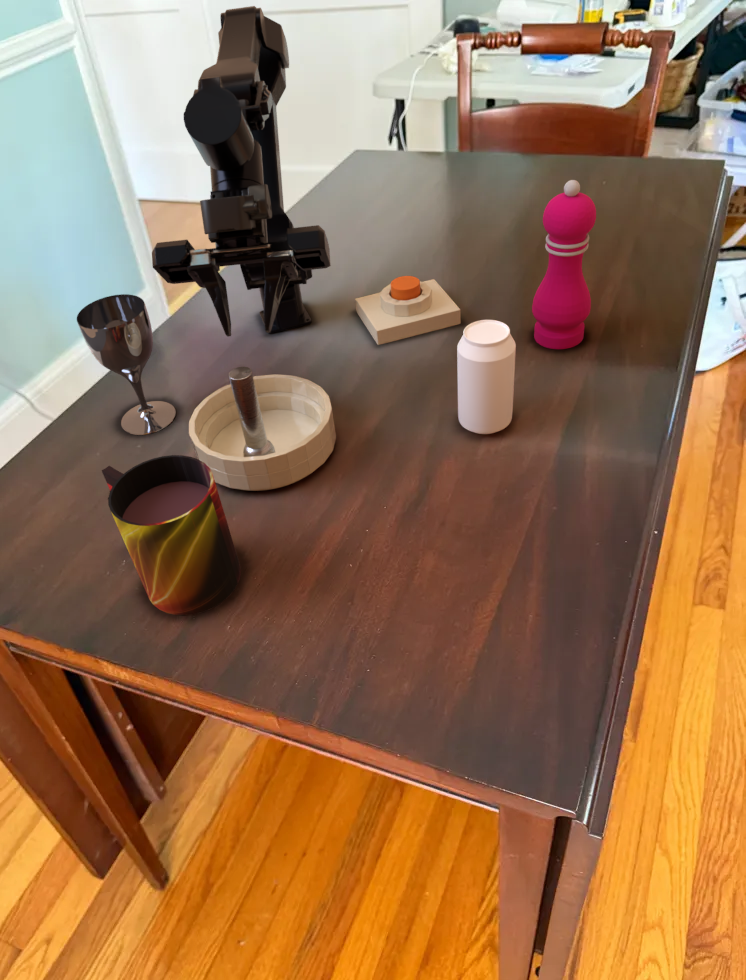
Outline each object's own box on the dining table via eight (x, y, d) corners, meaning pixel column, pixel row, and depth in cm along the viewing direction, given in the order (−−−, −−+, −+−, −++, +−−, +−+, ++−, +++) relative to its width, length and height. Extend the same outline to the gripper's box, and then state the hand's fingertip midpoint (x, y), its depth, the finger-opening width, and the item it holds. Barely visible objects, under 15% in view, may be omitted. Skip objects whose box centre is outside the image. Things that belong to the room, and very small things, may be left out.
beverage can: (507, 441, 88) (511, 348, 80) (453, 436, 90) (451, 345, 82) (515, 409, 92) (520, 317, 84) (463, 405, 94) (462, 315, 86)
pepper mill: (587, 352, 99) (607, 192, 85) (529, 351, 101) (538, 194, 87) (586, 322, 104) (605, 166, 90) (531, 322, 106) (540, 169, 92)
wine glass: (189, 402, 102) (157, 296, 91) (160, 440, 96) (122, 331, 86) (137, 396, 104) (99, 292, 93) (106, 433, 99) (62, 326, 88)
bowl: (189, 429, 97) (179, 395, 94) (317, 395, 99) (311, 361, 96) (210, 511, 86) (199, 476, 82) (354, 471, 88) (349, 436, 84)
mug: (134, 535, 84) (97, 448, 76) (253, 549, 81) (229, 458, 72) (93, 603, 78) (47, 515, 70) (220, 621, 74) (188, 531, 66)
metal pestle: (248, 456, 90) (224, 364, 81) (279, 454, 90) (258, 361, 81) (245, 477, 87) (220, 384, 79) (276, 474, 87) (255, 381, 79)
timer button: (387, 291, 109) (386, 279, 108) (414, 284, 109) (413, 273, 108) (396, 304, 106) (396, 292, 105) (424, 297, 107) (424, 285, 105)
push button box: (356, 312, 113) (353, 286, 110) (434, 292, 115) (433, 267, 112) (378, 345, 106) (375, 318, 103) (460, 324, 108) (460, 297, 105)
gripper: (128, 166, 78) (139, 321, 78) (312, 144, 76) (323, 303, 76) (164, 212, 89) (173, 348, 89) (326, 194, 88) (335, 333, 87)
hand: (247, 333), depth 85 cm, fingers open, 4 cm apart
